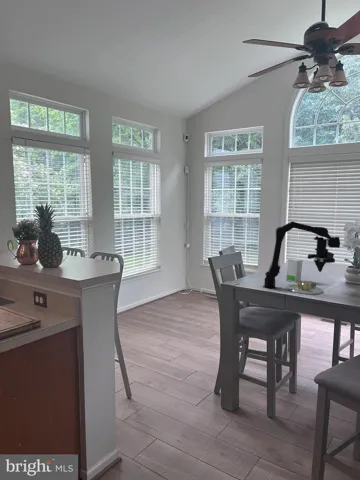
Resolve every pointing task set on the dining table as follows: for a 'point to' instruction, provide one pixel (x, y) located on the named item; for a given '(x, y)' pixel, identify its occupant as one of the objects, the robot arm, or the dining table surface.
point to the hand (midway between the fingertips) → (320, 271)
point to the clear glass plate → (303, 291)
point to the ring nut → (308, 286)
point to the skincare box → (294, 270)
